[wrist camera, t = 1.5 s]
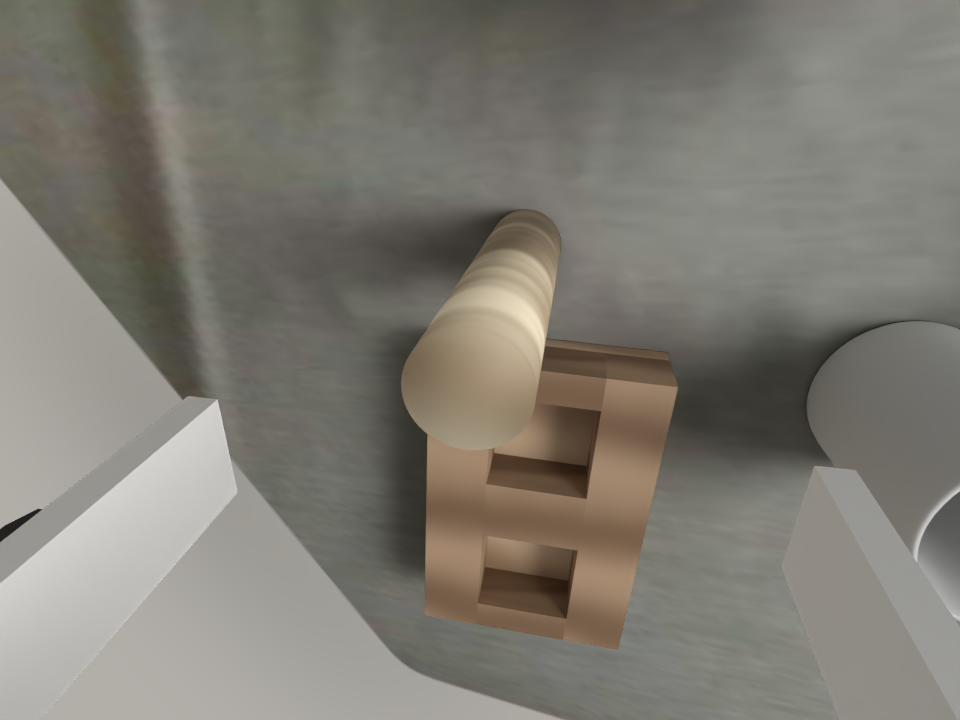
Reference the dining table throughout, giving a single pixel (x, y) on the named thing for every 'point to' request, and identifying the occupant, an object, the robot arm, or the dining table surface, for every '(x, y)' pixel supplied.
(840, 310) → the dining table surface
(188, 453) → the robot arm
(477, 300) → the pin
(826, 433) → the mug
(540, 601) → the bore block
